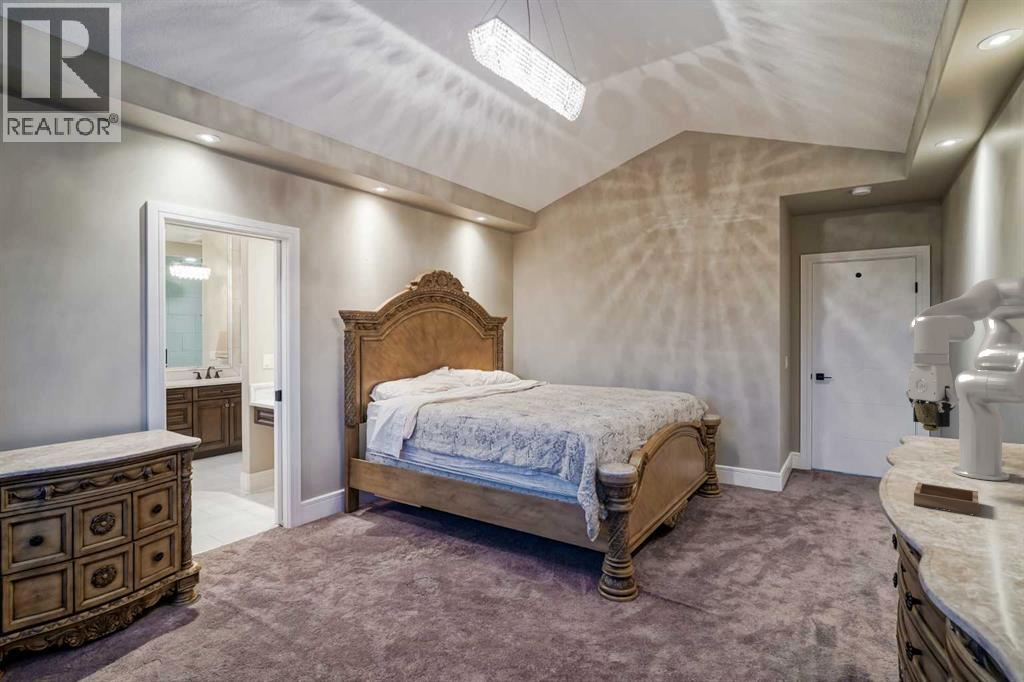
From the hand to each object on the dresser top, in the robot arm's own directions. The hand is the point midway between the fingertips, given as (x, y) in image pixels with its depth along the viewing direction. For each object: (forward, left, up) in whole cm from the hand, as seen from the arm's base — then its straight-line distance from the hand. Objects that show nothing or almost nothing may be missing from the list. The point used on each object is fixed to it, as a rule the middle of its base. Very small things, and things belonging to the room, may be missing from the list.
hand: (931, 423), depth 143 cm
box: (+12, +10, -18) cm, 24 cm away
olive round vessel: (0, 0, -2) cm, 2 cm away
